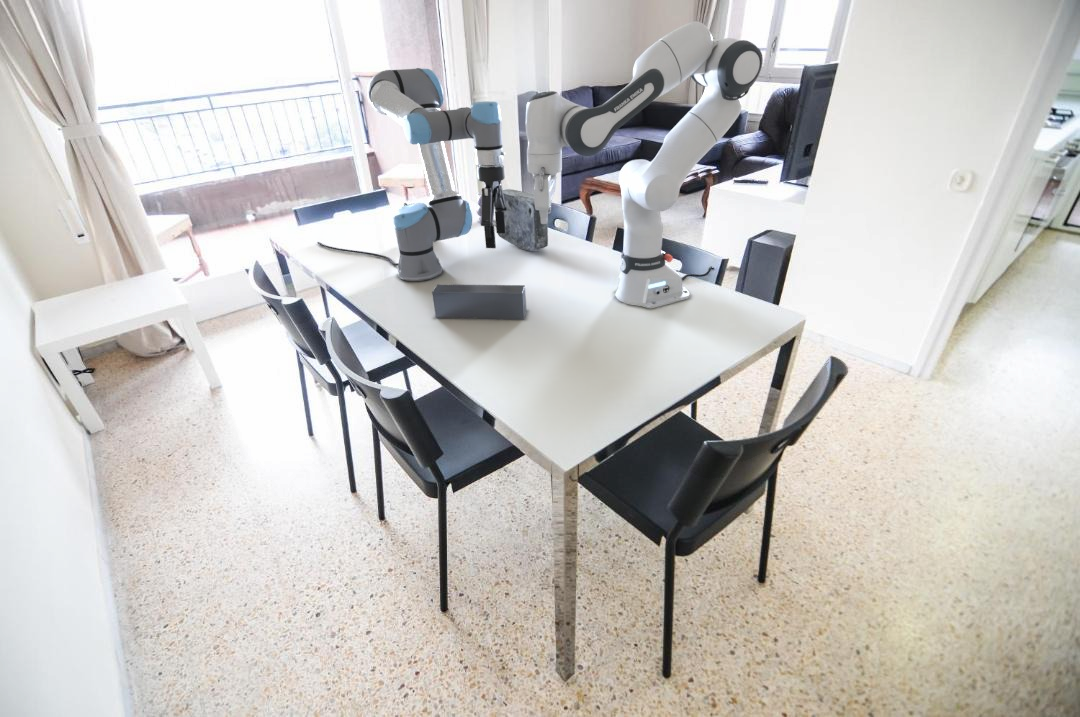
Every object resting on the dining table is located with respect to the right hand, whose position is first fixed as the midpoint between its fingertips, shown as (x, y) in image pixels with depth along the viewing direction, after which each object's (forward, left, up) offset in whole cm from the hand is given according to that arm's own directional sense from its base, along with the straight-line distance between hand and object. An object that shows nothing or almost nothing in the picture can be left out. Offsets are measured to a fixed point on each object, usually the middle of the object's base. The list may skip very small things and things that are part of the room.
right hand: (546, 218), depth 134 cm
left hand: (+12, -14, -9) cm, 20 cm away
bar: (+20, -3, -27) cm, 34 cm away
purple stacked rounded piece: (+2, -99, -27) cm, 103 cm away
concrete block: (-6, -57, -27) cm, 64 cm away
